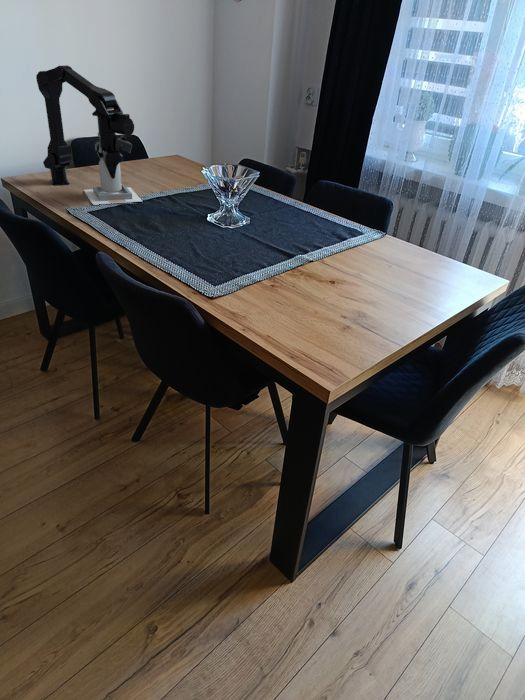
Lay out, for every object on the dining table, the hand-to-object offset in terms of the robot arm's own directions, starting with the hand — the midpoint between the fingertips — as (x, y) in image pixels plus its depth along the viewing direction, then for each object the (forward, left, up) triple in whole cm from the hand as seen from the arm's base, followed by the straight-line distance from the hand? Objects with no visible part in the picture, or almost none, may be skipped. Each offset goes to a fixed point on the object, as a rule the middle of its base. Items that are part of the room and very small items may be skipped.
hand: (110, 175), depth 185 cm
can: (0, 0, -6) cm, 6 cm away
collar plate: (0, 0, -8) cm, 8 cm away
